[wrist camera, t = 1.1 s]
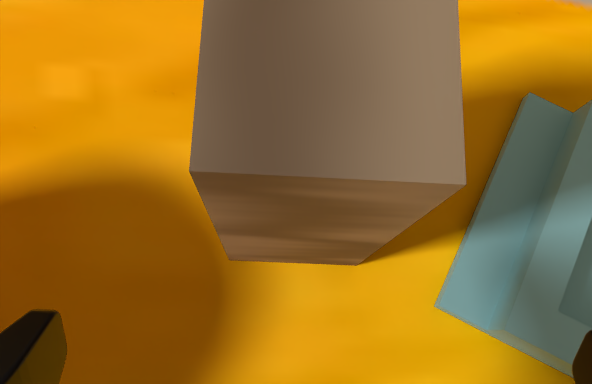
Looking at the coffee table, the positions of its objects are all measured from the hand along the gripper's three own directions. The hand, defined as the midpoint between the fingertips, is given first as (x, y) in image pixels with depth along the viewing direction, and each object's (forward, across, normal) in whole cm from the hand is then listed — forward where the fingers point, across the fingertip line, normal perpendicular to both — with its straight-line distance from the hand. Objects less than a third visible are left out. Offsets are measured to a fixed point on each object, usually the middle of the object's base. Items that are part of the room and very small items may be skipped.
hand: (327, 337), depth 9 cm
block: (+12, 0, +5) cm, 13 cm away
